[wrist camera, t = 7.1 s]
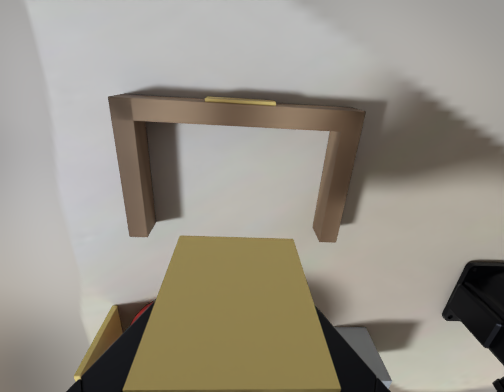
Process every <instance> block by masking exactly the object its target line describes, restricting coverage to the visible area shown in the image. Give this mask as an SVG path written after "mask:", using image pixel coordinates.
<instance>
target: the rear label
mask: <svg viewBox="0 0 504 392" xmlns="http://www.w3.org/2000/svg"><path fill="white" fill-rule="evenodd" d="M122 334H123V332H122V327H121V322H120V317H119V312H118V307H117V306H112V307H111V309H110V311H109V313H108V315H107V317H106V318H105V320H104V322H103V324H102V326H101V327H100V329H99V331H98V333H97V335H96V337H95V338H94V340H93V342H92V344H91V346H90V347H89V349H88V351H87V353H86V355H85V357H84V359H83V360H82V362H81V364H80V366H79V368H78V369H77V371H76V373H75V375H74V378H75V381H77V380H78V379H81V376H82V375H83V374H84V373H85V372H86V371H87V370H88V369H89V368H90V367H91V366H92V365H93V364H94V363H95V362H96V361H97V360H98V359H99V358H100V356H101V355H102V354H103V353H104V352H105V351H106V350H107V349H108V348H109V347H110V346H111V345H112V344H113V343H114V342H115V341H116V340H117V339H118V338H119V337H120V336H121V335H122Z"/></svg>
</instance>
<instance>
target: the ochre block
mask: <svg viewBox="0 0 504 392" xmlns="http://www.w3.org/2000/svg"><path fill="white" fill-rule="evenodd" d="M340 391H341V387H340V384H339V381H338V377H337V374H336V371H335V368H334V365H333V362H332V359H331V356H330V353H329V349H328V346H327V343H326V340H325V337H324V334H323V331H322V328H321V324H320V321H319V318H318V315H317V312H316V309H315V306H314V303H313V299H312V296H311V293H310V290H309V287H308V284H307V281H306V278H305V274H304V271H303V268H302V265H301V262H300V259H299V256H298V253H297V249H296V246H295V243H294V240H293V239H277V238H243V237H209V236H180V237H179V239H178V242H177V245H176V247H175V250H174V253H173V256H172V258H171V261H170V264H169V266H168V269H167V272H166V274H165V277H164V280H163V282H162V285H161V288H160V291H159V293H158V296H157V299H156V301H155V304H154V307H153V309H152V312H151V315H150V318H149V320H148V323H147V326H146V328H145V331H144V334H143V336H142V339H141V342H140V345H139V347H138V350H137V353H136V355H135V358H134V361H133V363H132V366H131V369H130V371H129V374H128V377H127V380H126V382H125V385H124V388H123V392H340Z"/></svg>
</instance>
